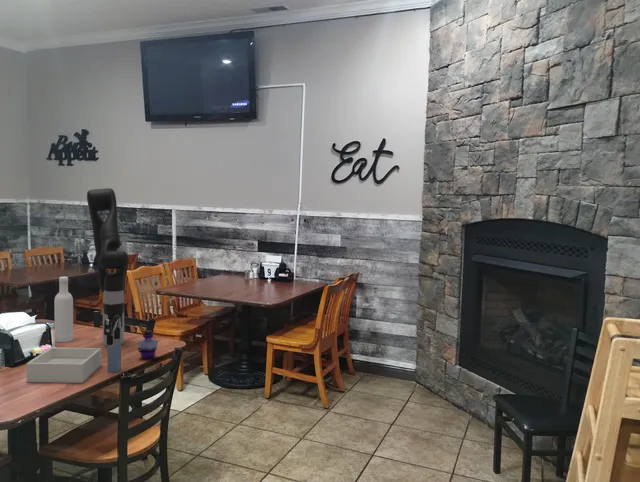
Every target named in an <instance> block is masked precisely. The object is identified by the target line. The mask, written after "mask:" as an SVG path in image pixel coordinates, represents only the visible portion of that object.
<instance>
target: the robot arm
mask: <svg viewBox="0 0 640 482" xmlns="http://www.w3.org/2000/svg"><path fill="white" fill-rule="evenodd" d="M86 201H87V206H88V211H89V215H90V220H91V226H92V234H93V243H94V250H95V256H96V262H97V271H98V273H97V274H98V287H99V290H100V292H102V293H103V301H102V345H103V346H107V347H108V346H109V345H112V344H121V346H122V345H124V343H125V294H126V293H125V292H126V291H125V289H126V276H125V275H126V270H127V267H128V264H129V255H128V253H127V252H126V250H119V248H120V247H121V239H120V233H119V226H118V207H117V196H116V193H115V191H114V189H113V188H109V187H107V188H96V189H94V188H93V189H90V190H88V191H87V193H86ZM103 211H105V212H106V211H108V214H107V216H106V218H105V220H103V219H102V218H101V216H100V213H99V212H103ZM108 270H116V272H108Z"/></svg>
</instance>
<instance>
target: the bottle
mask: <svg viewBox="0 0 640 482" xmlns="http://www.w3.org/2000/svg"><path fill="white" fill-rule="evenodd" d="M58 282H59V283H58V284H59V285H58V286H59V287H58V289H59V291H58V293H57V294H56V295H55V297H54V302H53V303H54V305H53V306H54V342H56V343H68V342H72V341H73V340H74V299H73V295H72V294H71V293H70V292H69V277H68V276H59V278H58Z"/></svg>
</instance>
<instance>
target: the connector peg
mask: <svg viewBox="0 0 640 482" xmlns="http://www.w3.org/2000/svg"><path fill="white" fill-rule="evenodd" d="M106 348H107V349H106V351H107V352H106V353H107V373H119V372H120V370H121V369H122V345H121V344H112V345H109V346H107V347H106Z"/></svg>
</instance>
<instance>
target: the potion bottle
mask: <svg viewBox="0 0 640 482" xmlns="http://www.w3.org/2000/svg"><path fill="white" fill-rule="evenodd" d="M153 337H154V333H153V331H152V330H150V329H146V330H144V332H143V333H142V338H144V339H142V340H139V341H138V343H137V350H138V353H140V357H141V359H140V360H144V361H152V360H154V359H155V354H156V351H157V348H158V343H159V341H158V340H156V339H153Z"/></svg>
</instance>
